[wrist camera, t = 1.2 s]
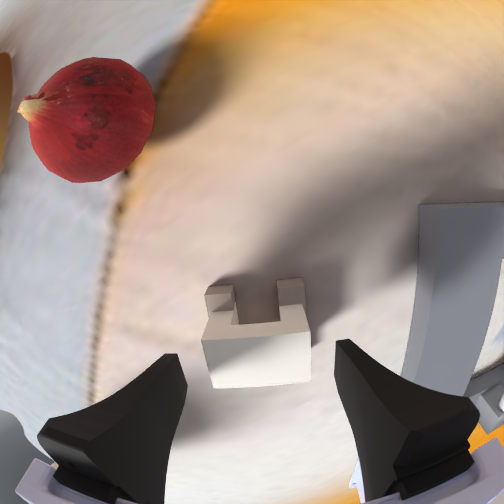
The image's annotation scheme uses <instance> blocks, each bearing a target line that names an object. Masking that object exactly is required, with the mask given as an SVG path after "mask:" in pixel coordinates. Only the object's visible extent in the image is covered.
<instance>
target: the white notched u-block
mask: <svg viewBox="0 0 504 504" xmlns="http://www.w3.org/2000/svg"><path fill="white" fill-rule="evenodd" d="M276 281H277V292H278V303H279V314H280V321H277V322H266V323H255V324H243V325H239V320H238V314H237V307H236V301H235V295H234V288H233V285H222V286H210V287H208V289H207V291H206V293H205V295H204V296H205V301H206V307H207V311H208V316H209V320H208V322H207V325H206V328H205V331H204V333H203V336H202V339H201V342H202V346H203V350H204V354H205V358H206V362H207V366H208V370H209V373H210V377H211V381H212V384H213V388H246V387H262V386H274V385H285V384H294V383H302V382H310V381H311V335H310V328H309V325H308V322H307V318H306V297H305V284H304V282H303V279H302V277H301V278H292V279H283V280H276Z"/></svg>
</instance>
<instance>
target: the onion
mask: <svg viewBox="0 0 504 504" xmlns="http://www.w3.org/2000/svg"><path fill="white" fill-rule="evenodd" d="M155 111H156V103H155V99H154V96H153V93H152V89H151V86H150V84H149V82H148V81H147V79H146V78H145V77H144V76H143V75H142V74H141V73H140V72H138V71H137V70H136V69H135V68H134V67H132V66H131V65H130V64H128V63H126V62H124V61H122V60H121V59H109V58H96V57H92V58H86V59H82V60H80V61H77V62H74V63H72V64H70V65H68V66H66V67H64V68H61V69H60V70H59V71H57V72H56V73H55V74H54V75H53V76H52V77H51V78H50V79H49V80H48V81H47V82H46V83H45V84H44V85H43V86H42V87H41V89H40V90H39V92H38V94H35V95H32V96H31V95H30V96H27V97H25V98H24V99H23V100H22V102H21V104H20V106H19V108H18V112H19V113H21V114H22V115H23V116H24V117H25V119H27V120H28V121H29V131H30V137H31V143H32V146H33V149H34V151H35V153H36V154H37V156H38V157H39V159H40V160H41V161H42V163H43V164H44V166H45V167H46V168H47V169H48V170H49V171H51V172H53V173H54V174H56V175H58V176H60V177H62V178H64V179H66V180H68V181H70V182H75V183H85V182H96V181H102V180H104V179H106V178H108V177H110V176H112V175H114V174H116V173H118V172H120V171H122V170H124V169H126V168H127V167H128V166H129V165H130V164H131V162H132V161H133V160H134V159H135V158H136V157H137V156H138V155H139V154H140V153H141V151H142V149H143V147H144V145H145V143H146V141H147V140H148V138H149V136H150V134H151V132H152V129H153V123H154V116H155Z"/></svg>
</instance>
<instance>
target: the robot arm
mask: <svg viewBox="0 0 504 504" xmlns="http://www.w3.org/2000/svg"><path fill="white" fill-rule="evenodd" d="M334 376H335V381H336V385H337V389H338V393H339V396H340V399H341V401H342V404H343V407H344V409H345V412H346V415H347V417H348V420H349V423H350V425H351V428H352V431H353V434H354V438H355V442H356V447H357V451H358V456H359V458H358V461H357V464H356V467H355V470H354V472H353V475H352V478H351V480H350V483H349V488H355V487H357V489H358V493H359V497H360V502H361V504H488V503H490V502H491V501H492V500H493V499H494V498H496V497H497V496H498V495H499V494H500V493H502V492H503V491H504V448H503V446H502V445H501V443H500V442H499V440H498V439H497V437H496V438H493V439H492V440H490V441H489V442H487V443H486V444H484V445H482V446H481V447H479V448H478V449H476V450H475V451H474V452H473V453H471V454H470V453H469V451H468V449H469V448H470V444H469V442H468V440H467V439H468V438H469V436H470V435H471V433H472V432H473V430H474V429H475V427H476V425H477V423H478V421H479V418H480V412H479V410H478V409H477V407H476V406H475V405H474V403H473V402H472V401H471V399H470V398H469V397H464V396H457V395H451V394H446V393H442V392H438V391H435V390H432V389H428V388H426V387H423V386H420V385H418V384H415V383H413V382H411V381H409V380H407V379H405V378H403V377H401V376H399V375H397V374H395V373H394V372H392V371H390V370H389V369H387V368H386V367H384V366H383V365H381V364H380V363H378V362H377V361H376V360H374V359H373V358H372V357H371V356H369V355H368V354H367V353H366V352H364V351H363V350H362V349H361V348H359V347H358V346H357V345H356V344H355V343H354V342H352V341H351V340H350V339H344V340H338V341H336V351H335V369H334ZM187 386H188V385H187V382H186V379H185V377H184V374H183V371H182V367H181V364H180V361H179V358H178V355H177V354H164V355H163V356H161V357H160V358H159V359H158V360H157V361H156V362H154V363H153V364H152V365H151V366H150V367H149V368H147V369H146V370H145V371H144V372H143V373H142V374H140V375H139V376H138V377H137V378H135V379H134V380H133V381H131V382H130V383H129V384H127V385H126V386H125V387H123V388H122V389H121V390H119V391H118V392H116V393H115V394H113V395H111V396H109V397H108V398H106V399H104V400H102V401H100V402H98V403H96V404H94V405H92V406H90V407H87V408H85V409H82V410H80V411H77V412H74V413H70V414H67V415H63V416H58V417H54V418H49V419H48V421H47V422H46V423H45V425H44V426H43V428H42V429H41V431H40V432H39V434H38V435H37V439H38V441H39V443H40V445H41V446H42V447H43V449H44V450H45V451H46V452H47V453H48V454H49V455H50V457H51V458H52V459H53V460H54V461H55V462H56V463H57V464H58V465H59V466H58V468H57V470H56V469H55V468H54V467H52V466H50V465H48V464H46V463H44V462H43V461H41V460H39V459H37V458H34V460H33V462H32V463H31V465H30V467H29V468H28V470H27V471H26V473H25V474H24V476H23V478H22V479H21V481H20V483H19V485H18V486H17V488H16V490H15V492H16V493H17V494H18V495H19V496H21V497H22V498H23V499H24V500H26V501H27V502H28V503H29V504H164V496H165V483H166V474H167V466H168V460H169V454H170V449H171V444H172V440H173V437H174V434H175V431H176V428H177V425H178V422H179V419H180V416H181V413H182V410H183V407H184V404H185V398H186V393H187Z"/></svg>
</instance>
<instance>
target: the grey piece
mask: <svg viewBox="0 0 504 504" xmlns="http://www.w3.org/2000/svg"><path fill="white" fill-rule="evenodd" d="M502 259H504V202H474V203H445V204H423V205H419V253H418V270H417V282H416V292H415V301H414V308H413V316H412V322H411V328H410V334H409V340H408V345H407V350H406V355H405V360H404V364H403V368H402V373H401V377H403V378H405V379H407V380H409V381H411V382H413V383H415V384H418V385H420V386H423V387H426V388H428V389H432V390H435V391H438V392H442V393H446V394H451V395H457V396H464V397H469V398H470V399H471V401H472V402H473V403H474V405H475V406H476V407H477V409H478V410H479V412H480V418H479V421H478V422H479V423H480V425H481V426H482V428H483V429H484V431H485V432H486V434H489V433H490V432H492V431H494V430H495V429H497V428H498V427H500V426H501V425H503V424H504V363H503V364H501V365H500V366H498V367H496V368H494V369H492V370H490V371H488V372H486V373H484V374H482V375H480V376H478V377H476V378H474V379H472V380H470V379H471V376H472V374H473V371H474V369H475V366H476V363H477V361H478V358H479V355H480V352H481V349H482V346H483V343H484V340H485V336H486V333H487V330H488V326H489V322H490V319H491V315H492V311H493V306H494V302H495V297H496V292H497V287H498V282H499V276H500V269H501V262H502Z"/></svg>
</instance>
